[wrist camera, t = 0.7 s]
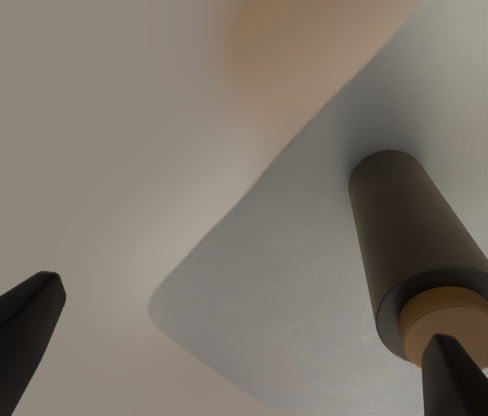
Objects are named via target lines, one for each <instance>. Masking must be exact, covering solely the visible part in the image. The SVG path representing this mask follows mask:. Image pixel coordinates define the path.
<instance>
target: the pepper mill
mask: <svg viewBox="0 0 488 416" xmlns="http://www.w3.org/2000/svg"><path fill="white" fill-rule="evenodd" d="M349 195H350V200H351V205H352V210H353V215H354V220H355V225H356V230H357V235H358V240H359V245H360V250H361V255H362V260H363V265H364V270H365V274H366V279H367V284H368V289H369V294H370V299H371V304H372V309H373V314H374V319H375V324H376V329H377V332H378V335H379V337H380V339H381V341H382V342H383V344H384V345H385V346H386V347H387V348H388V349H389V350H390V351H391V352H392V353H393V354H394V355H396V356H397V357H398V358H400V359H402V360H404V361H406V362H408V363H410V364H413V365H415V366H416V367H418V368H419V369H421V370H422V366H421V359H422V354H423V352H424V350H425V348H426V346H427V344H428V343H429V341H430V339H431V337H432V336H433V335H434V334H435V333H440V334H446V335H451V336H454V337H455V338H456V339H457V340H458V341H459V343H460V344H461V345H462V346H463V348H464V349H465V350H466V351H467V353H468V354H469V355H470V357H471V358H472V359H473V360H474V362H475V363H476V364H477V366H478V367H479V368H480V369H481V370H483V369H485V368H487V367H488V259H487V258H486V256H485V255H484V254H483V252H482V251H481V249H480V248H479V247H478V245H477V244H476V242H475V241H474V239H473V238H472V237H471V235H470V234H469V232H468V231H467V230H466V228H465V227H464V225H463V224H462V222H461V221H460V220H459V218H458V217H457V215H456V214H455V213H454V211H453V210H452V208H451V207H450V205H449V204H448V203H447V201H446V200H445V198H444V197H443V196H442V194H441V193H440V191H439V190H438V189H437V187H436V186H435V184H434V183H433V181H432V180H431V179H430V177H429V176H428V174H427V173H426V172H425V170H424V169H423V167H422V166H421V164H420V163H419V162H418V161H417V160H416V159H415V158H414V157H412V156H411V155H409V154H407V153H404V152H401V151H396V150H385V151H380V152H376V153H374V154H371V155H369V156H368V157H366V158H364V159H363V160H362V161H361V162H360V163H359V164H358V165H357V166H356V167H355V169H354V170H353V172H352V174H351V176H350V180H349Z"/></svg>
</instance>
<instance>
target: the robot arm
mask: <svg viewBox="0 0 488 416" xmlns="http://www.w3.org/2000/svg"><path fill="white" fill-rule="evenodd" d="M65 301H66V293H65V290H64V287H63V284H62V281H61V278H60V276H59V274H57V273H55V272H49V271H40V272H38V273H36V274H35V275H33V276H31V277H30V278H28V279H27V280H25V281H23V282H22V283H20V284H19V285H17V286H16V287H14V288H12V289H11V290H9V291H8V292H6V293H5V294H3V295H1V296H0V416H11V415H12V413H13V411H14V410H15V408H16V406H17V404H18V402H19V400H20V399H21V397H22V395H23V393H24V391H25V389H26V387H27V386H28V384H29V382H30V380H31V378H32V376H33V375H34V373H35V371H36V369H37V367H38V365H39V363H40V361H41V359H42V357H43V355H44V352H45V350H46V348H47V346H48V343H49V341H50V338H51V336H52V333H53V331H54V329H55V326H56V324H57V321H58V319H59V317H60V314H61V312H62V309H63V307H64V305H65ZM421 366H422V382H423V398H424V415H425V416H488V378H487V377H486V376H485V374H484V373H483V372H482V371H481V369H480V368H479V367H478V366H477V364H476V363H475V362H474V360H473V359H472V358H471V357H470V355H469V354H468V353H467V351H466V350H465V349H464V348H463V346H462V345H461V344H460V343H459V341H458V340H457V339H456V338H455V337H454V336H451V335H446V334H440V333H435V334H434V335H433V336H432V337H431V339H430V341H429V343H428V344H427V346H426V348H425V350H424V352H423V354H422V359H421Z"/></svg>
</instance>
